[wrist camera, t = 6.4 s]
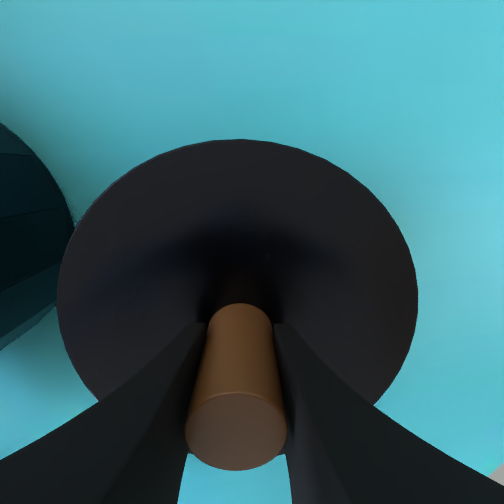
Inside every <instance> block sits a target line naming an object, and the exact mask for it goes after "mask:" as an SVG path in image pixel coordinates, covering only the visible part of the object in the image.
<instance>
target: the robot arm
mask: <svg viewBox="0 0 504 504" xmlns="http://www.w3.org/2000/svg"><path fill="white" fill-rule="evenodd" d="M273 338H274V344H275V351H276V356H277V362H278V368H279V374H280V380H281V386H282V392H283V399H284V405H285V411H286V417H287V423H288V436H287V440H286V443H285V445H284V450H285V455H286V460H287V466H288V472H289V478H290V487H291V495H292V504H504V486H503V485H501V484H499V483H497V482H495V481H493V480H492V479H490V478H488V477H486V476H484V475H483V474H481V473H479V472H477V471H475V470H473V469H472V468H470V467H468V466H466V465H464V464H463V463H461V462H459V461H457V460H455V459H454V458H452V457H450V456H448V455H447V454H445V453H444V452H442V451H440V450H439V449H437V448H435V447H434V446H432V445H431V444H429V443H427V442H426V441H424V440H422V439H421V438H419V437H418V436H416V435H415V434H413V433H412V432H410V431H408V430H407V429H405V428H404V427H402V426H401V425H399V424H398V423H397V422H395V421H394V420H392V419H391V418H390V417H388V416H387V415H385V414H384V413H383V412H381V411H380V410H378V409H377V408H376V407H374V406H373V405H372V404H370V403H369V402H368V401H367V400H365V399H364V398H363V397H362V396H360V395H359V394H358V393H357V392H356V391H354V390H353V389H352V388H351V387H350V386H348V385H347V384H346V383H345V382H344V381H343V380H342V379H341V378H339V377H338V376H337V375H336V374H335V373H334V372H333V371H332V370H331V369H330V368H329V367H328V366H327V365H326V364H325V363H324V362H323V361H322V360H321V359H320V357H319V356H318V355H317V354H316V353H315V352H314V351H313V350H312V349H311V348H310V346H309V345H308V344H307V343H306V342H305V341H304V339H303V338H302V337H301V336H300V334H299V333H298V332H297V331H296V330H295V328H294V327H293V326H292V325H291V324H279V323H274V335H273ZM205 339H206V336H205V323H188V324H187V325H186V326H185V327H184V328H183V329H182V330H181V331H180V332H179V333H178V334H177V335H176V336H175V337H174V338H173V339H172V340H171V341H170V342H169V343H168V344H167V345H166V346H165V347H164V348H163V349H162V350H161V351H160V352H159V353H158V354H157V355H156V356H155V357H154V358H153V359H152V360H150V361H149V362H148V363H147V364H146V365H145V366H144V367H143V368H141V369H140V370H139V371H138V372H137V373H136V374H135V375H133V376H132V377H131V378H130V379H128V380H127V381H126V382H125V383H123V384H122V385H121V386H119V387H118V388H117V389H115V390H114V391H113V392H111V393H110V394H109V395H107V396H106V397H104V398H103V399H102V400H100V401H99V402H97V403H96V404H94V405H93V406H91V407H90V408H88V409H86V410H85V411H83V412H82V413H80V414H79V415H77V416H76V417H74V418H73V419H71V420H70V421H68V422H66V423H65V424H63V425H62V426H60V427H58V428H57V429H55V430H53V431H52V432H50V433H48V434H46V435H45V436H43V437H41V438H40V439H38V440H36V441H34V442H32V443H31V444H29V445H27V446H25V447H23V448H22V449H20V450H18V451H16V452H14V453H13V454H11V455H9V456H7V457H5V458H3V459H1V460H0V504H177V502H178V496H179V491H180V485H181V480H182V475H183V471H184V466H185V462H186V458H187V454H188V450H189V447H188V446H187V443H186V440H185V436H184V425H185V420H186V416H187V412H188V408H189V404H190V400H191V396H192V392H193V388H194V384H195V380H196V375H197V371H198V367H199V363H200V359H201V355H202V351H203V347H204V343H205Z"/></svg>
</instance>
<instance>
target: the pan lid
mask: <svg viewBox="0 0 504 504" xmlns="http://www.w3.org/2000/svg"><path fill="white" fill-rule="evenodd" d="M57 314H58V320H59V327H60V332H61V335H62V339H63V342H64V345H65V349H66V351H67V353H68V356H69V358H70V360H71V362H72V364H73V366H74V369H75V370H76V372H77V373H78V375H79V377H80V378H81V380H82V381H83V383H84V384H85V386H86V387H87V388H88V390H89V391H90V392H91V393H92V394H93V396H94V397H95V398H96V399H97V400H98V402H99V401H100V400H102V399H103V398H104V397H106V396H107V395H109V394H110V393H111V392H113V391H114V390H115V389H117V388H118V387H119V386H121V385H122V384H123V383H125V382H126V381H127V380H128V379H130V378H131V377H132V376H133V375H135V374H136V373H137V372H138V371H139V370H140V369H141V368H143V367H144V366H145V365H146V364H147V363H148V362H149V361H150V360H152V359H153V358H154V357H155V356H156V355H157V354H158V353H159V352H160V351H161V350H162V349H163V348H164V347H165V346H166V345H167V344H168V343H169V342H170V341H171V340H172V339H173V338H174V337H175V336H176V335H177V334H178V333H179V332H180V331H181V330H182V329H183V328H184V327H185V326H186V325H187V324H188V323H205V336H206V339H205V343H204V347H203V351H202V355H201V359H200V363H199V367H198V371H197V375H196V380H195V384H194V388H193V392H192V396H191V400H190V404H189V408H188V412H187V416H186V420H185V425H184V436H185V440H186V443H187V446H188V447H189V450H188V453H190V454H194V455H195V456H196V457H197V458H198V459H199V460H201V461H202V462H204V463H206V464H208V465H210V466H212V467H215V468H218V469H222V470H229V471H242V470H249V469H253V468H256V467H259V466H262V465H264V464H266V463H268V462H269V461H271V460H272V459H273V458H275V457H276V456H278V455H282V454H285V450H284V445H285V443H286V440H287V436H288V423H287V417H286V411H285V405H284V399H283V392H282V386H281V380H280V374H279V368H278V362H277V356H276V351H275V344H274V338H273V335H274V323H279V324H291V325H292V326H293V327H294V328H295V330H296V331H297V332H298V333H299V334H300V336H301V337H302V338H303V339H304V341H305V342H306V343H307V344H308V345H309V346H310V348H311V349H312V350H313V351H314V352H315V353H316V354H317V355H318V356H319V357H320V359H321V360H322V361H323V362H324V363H325V364H326V365H327V366H328V367H329V368H330V369H331V370H332V371H333V372H334V373H335V374H336V375H337V376H338V377H339V378H341V379H342V380H343V381H344V382H345V383H346V384H347V385H348V386H350V387H351V388H352V389H353V390H354V391H356V392H357V393H358V394H359V395H360V396H362V397H363V398H364V399H365V400H367V401H368V402H369V403H370V404H372V405H374V404H375V403H376V402H377V401H378V400H379V399H380V397H381V396H382V395H383V394H384V393H385V391H386V390H387V389H388V388H389V387H390V385H391V384H392V382H393V380H394V379H395V377H396V376H397V374H398V372H399V371H400V369H401V367H402V365H403V363H404V361H405V358H406V356H407V354H408V352H409V349H410V346H411V343H412V339H413V336H414V333H415V327H416V321H417V314H418V286H417V279H416V272H415V267H414V264H413V261H412V257H411V254H410V251H409V248H408V246H407V243H406V241H405V239H404V237H403V235H402V233H401V231H400V229H399V227H398V225H397V224H396V222H395V221H394V219H393V218H392V216H391V215H390V213H389V212H388V211H387V209H386V208H385V206H384V205H383V204H382V203H381V202H380V201H379V200H378V199H377V198H376V197H375V196H374V195H373V193H372V192H371V191H370V190H369V189H368V188H367V187H365V186H364V185H363V184H362V183H360V182H359V181H358V180H357V179H355V178H354V177H353V176H352V175H350V174H349V173H348V172H346V171H344V170H343V169H341V168H339V167H338V166H336V165H334V164H332V163H331V162H329V161H327V160H325V159H323V158H321V157H318V156H316V155H313V154H311V153H308V152H306V151H303V150H301V149H298V148H294V147H290V146H286V145H282V144H278V143H274V142H268V141H258V140H247V139H232V140H212V141H207V142H202V143H197V144H191V145H186V146H183V147H180V148H177V149H174V150H171V151H168V152H165V153H162V154H159V155H157V156H155V157H153V158H151V159H149V160H148V161H146V162H144V163H142V164H140V165H138V166H136V167H134V168H133V169H131V170H130V171H128V172H127V173H126V174H124V175H123V176H122V177H120V178H119V179H117V180H116V181H115V182H113V183H112V184H111V185H110V186H109V187H108V188H107V189H106V190H105V191H104V192H103V193H102V194H101V195H100V196H99V197H98V198H97V199H96V200H95V201H94V202H93V203H92V205H91V206H90V207H89V209H88V210H87V211H86V213H85V214H84V215H83V217H82V218H81V220H80V221H79V223H78V225H77V226H76V228H75V230H74V232H73V234H72V236H71V238H70V240H69V242H68V244H67V247H66V250H65V253H64V256H63V259H62V262H61V266H60V272H59V278H58V284H57Z"/></svg>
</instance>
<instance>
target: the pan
mask: <svg viewBox="0 0 504 504" xmlns="http://www.w3.org/2000/svg"><path fill="white" fill-rule="evenodd" d="M73 232H74V227H73V223H72V219H71V215H70V212H69V210H68V207H67V204H66V202H65V199H64V197H63V195H62V193H61V191H60V189H59V187H58V185H57V184H56V182H55V180H54V179H53V177H52V176H51V174H50V173H49V171H48V170H47V168H46V167H45V165H44V164H43V163H42V162H41V161H40V159H39V158H38V157H37V156H36V155H35V153H34V152H33V151H32V150H31V149H30V148H29V147H28V146H27V145H26V144H25V143H24V142H23V141H22V140H21V139H20V138H19V137H18V136H17V135H15V134H14V133H13V132H12V131H10V130H9V129H8V128H6V127H5V126H4V125H3V124H1V123H0V350H2V349H3V348H4V347H6V346H7V345H9V344H10V343H11V342H13V341H14V340H15V339H17V338H18V337H20V336H21V335H22V334H24V333H25V332H26V331H28V330H29V329H31V328H32V327H33V326H35V325H36V324H37V323H38V322H39V321H40V320H41V319H42V318H43V317H44V316H45V315H46V314H47V313H48V312H49V311H51V310H52V309H53V308H54V307H55V306H56V304H57V284H58V278H59V272H60V266H61V262H62V259H63V256H64V253H65V250H66V247H67V244H68V242H69V240H70V238H71V236H72V234H73Z"/></svg>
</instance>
